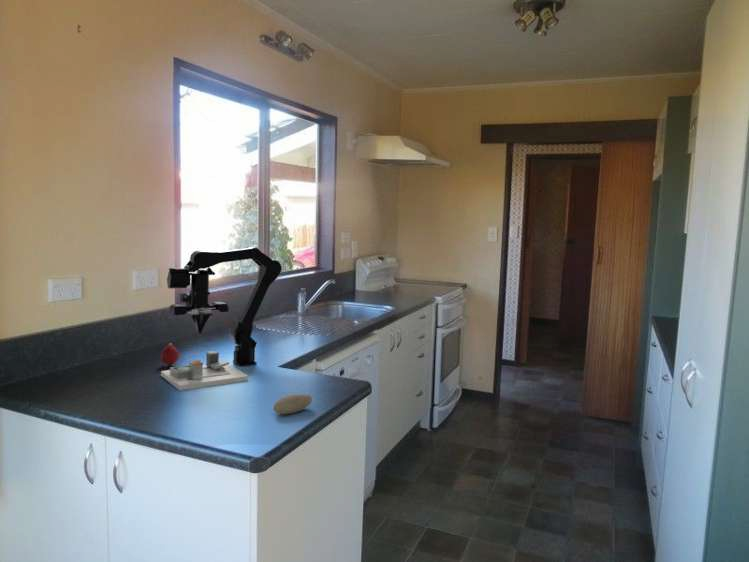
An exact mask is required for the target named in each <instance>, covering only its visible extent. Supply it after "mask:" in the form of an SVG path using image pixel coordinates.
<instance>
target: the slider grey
mask: <svg viewBox="0 0 749 562" xmlns="http://www.w3.org/2000/svg"><path fill="white" fill-rule="evenodd" d="M205 354H206V355H205V356H206V358H205V359H206V363H205V364H206V365H205V366H207V367H209V368H212V367H211V366H210V364H213V363H216V362H219V355H220V352H219V351H217V350H209V351H206V352H205Z"/></svg>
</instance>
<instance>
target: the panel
mask: <svg viewBox="0 0 749 562" xmlns="http://www.w3.org/2000/svg"><path fill="white" fill-rule="evenodd" d="M169 367H170V368H169V369H168V370H167V369H166V370H161V371H160V376H161V377H162V378H164V380H166V381H167V382H168V383H170V384H171V385H172V386H173V387H175V389H177V390H178V391H185V390H191V389H198V388H199V389H200V388H205V387H212V386H219V385H227V384H234V383H240V382H241V383H242V382H247V381H248V382H249V376H248V375H247V374H245V373H244V372H242V371H240V370H238V369H237V368H235V367H234V366H232V365H230V364H229V365H226V366H223V367H220V368H217V369H213V368H209V367H207V366H206V365H203V376H202V378H201V379H194V380H193V379H191V378H190V370H189V371H182V372H178V371H177V368H180V367H190V364H186V365H179V366H178V365H177V366H169Z"/></svg>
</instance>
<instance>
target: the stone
mask: <svg viewBox="0 0 749 562" xmlns="http://www.w3.org/2000/svg"><path fill="white" fill-rule="evenodd" d="M312 401H313V399H312V396H311V395H310V394H307V393H301V394H300V393H299V394H298V393H297V394H291V395H286V396H283V397H279V398H278V399H277V400H276V402H274V404H273V410H274V412H275V413H276V414H278V415H290V414H295V413H298V411H299V412H301V411H303V410H305V409H306V408H307V407H309V406H310V405H311V403H312Z"/></svg>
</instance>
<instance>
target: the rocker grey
mask: <svg viewBox="0 0 749 562" xmlns="http://www.w3.org/2000/svg"><path fill="white" fill-rule="evenodd" d="M226 365H230V362H229V361H227V360H225V359H223V360H218V362H216V363H213V364H210V366H211V367H212V368H213V369H217V368H220V367H223V366H226Z"/></svg>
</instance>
